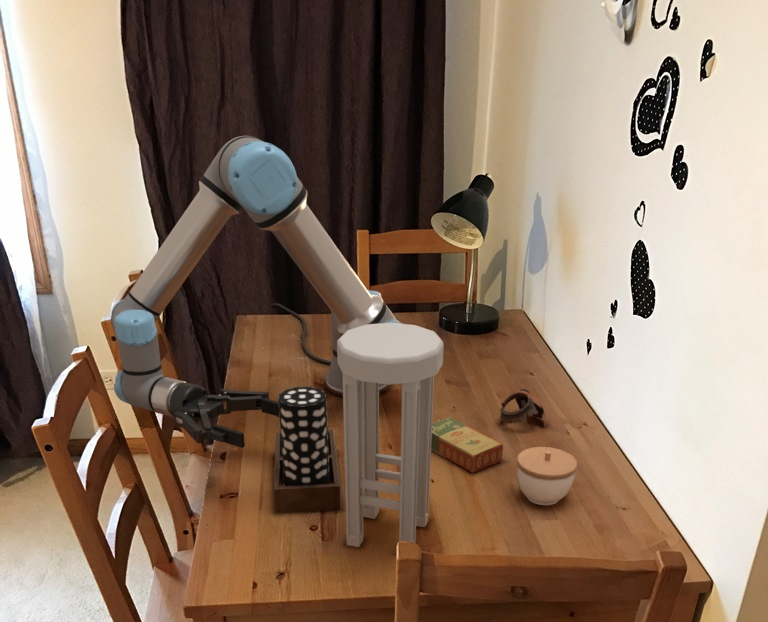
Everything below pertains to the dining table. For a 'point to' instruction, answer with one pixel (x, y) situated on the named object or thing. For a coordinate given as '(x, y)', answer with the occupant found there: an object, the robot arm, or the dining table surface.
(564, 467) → the trinket box
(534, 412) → the broken clay pot
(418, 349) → the stool
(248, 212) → the robot arm
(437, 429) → the carton
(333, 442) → the open wooden box
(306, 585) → the dining table surface
